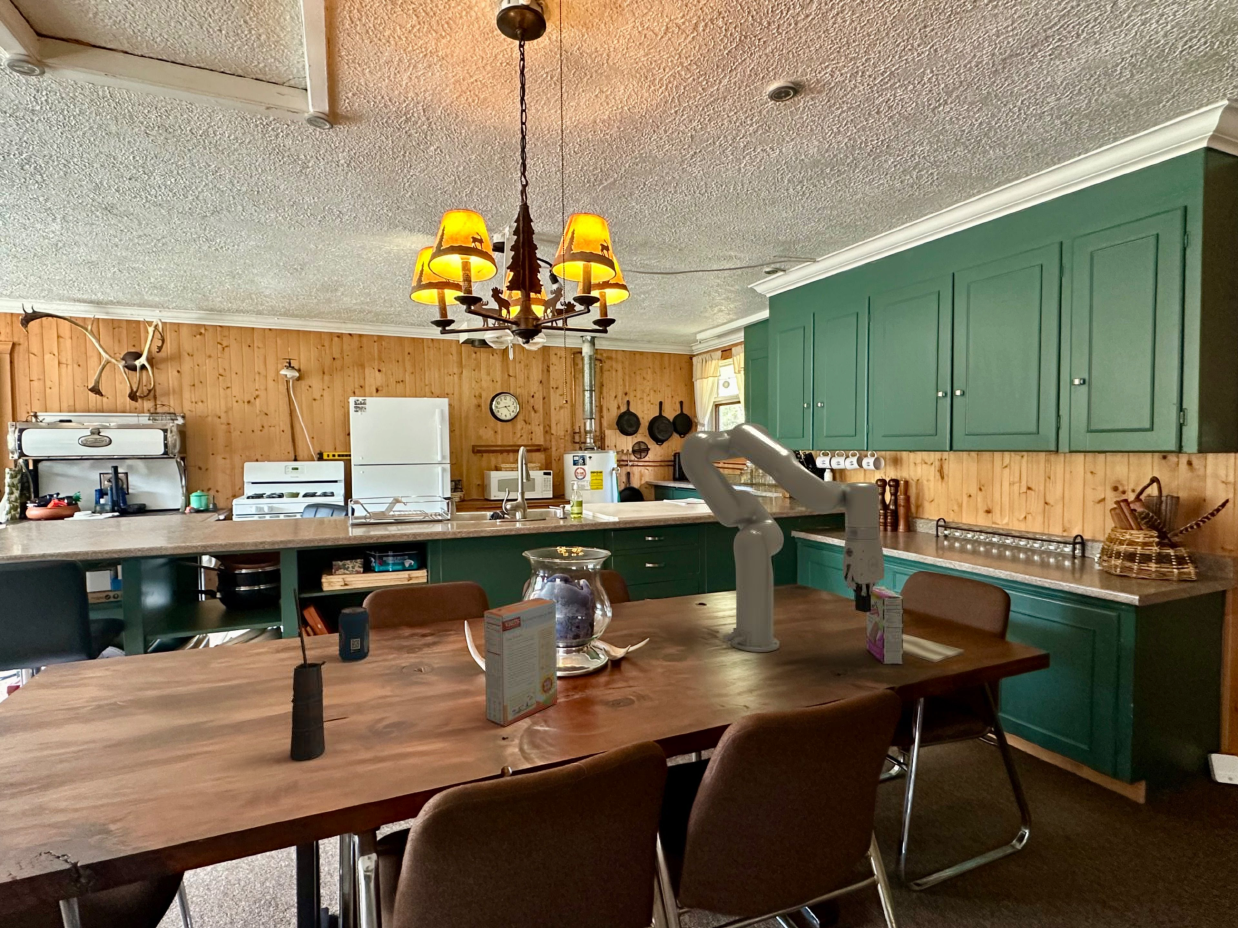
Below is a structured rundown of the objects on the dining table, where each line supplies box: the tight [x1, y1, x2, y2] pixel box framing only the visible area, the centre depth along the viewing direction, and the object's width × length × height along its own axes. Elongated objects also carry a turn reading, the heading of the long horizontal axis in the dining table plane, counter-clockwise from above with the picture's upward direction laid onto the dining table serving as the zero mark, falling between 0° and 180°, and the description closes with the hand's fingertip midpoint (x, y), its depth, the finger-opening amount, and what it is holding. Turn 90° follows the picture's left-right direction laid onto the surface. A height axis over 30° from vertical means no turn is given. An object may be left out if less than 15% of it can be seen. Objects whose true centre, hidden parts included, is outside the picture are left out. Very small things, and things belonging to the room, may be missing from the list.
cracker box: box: [483, 597, 558, 727], centre depth 120 cm, size 14×6×21 cm, turn 141°
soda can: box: [338, 606, 371, 663], centre depth 151 cm, size 7×7×12 cm
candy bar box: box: [865, 585, 904, 665], centre depth 151 cm, size 11×5×16 cm, turn 179°
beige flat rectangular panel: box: [903, 633, 965, 663], centre depth 159 cm, size 13×18×1 cm
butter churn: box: [289, 587, 327, 761], centre depth 103 cm, size 9×10×28 cm
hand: (863, 610), depth 146 cm, fingers closed
